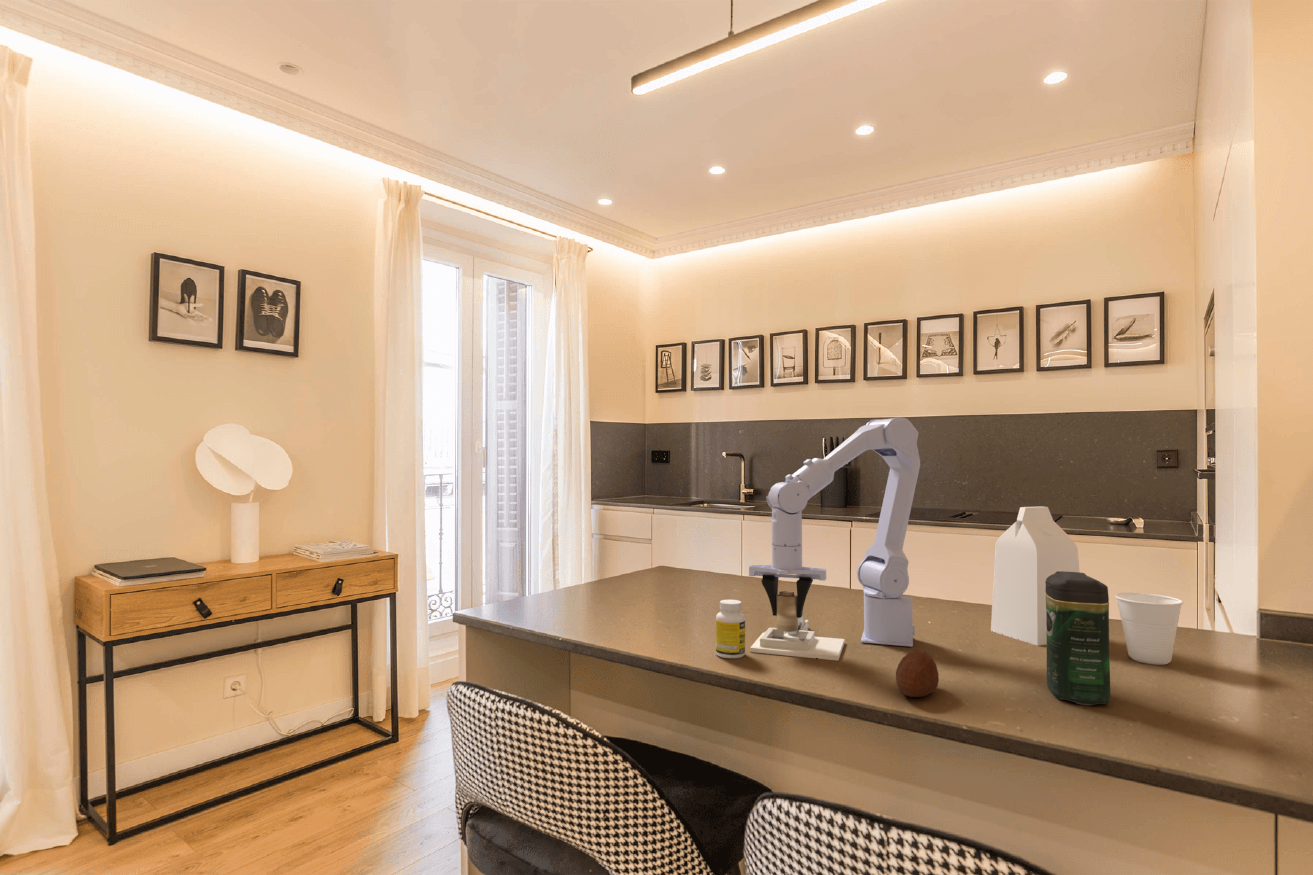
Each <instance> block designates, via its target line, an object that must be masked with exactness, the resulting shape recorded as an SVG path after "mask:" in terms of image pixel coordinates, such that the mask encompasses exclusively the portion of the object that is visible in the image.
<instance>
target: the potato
mask: <svg viewBox="0 0 1313 875" xmlns="http://www.w3.org/2000/svg"><path fill="white" fill-rule="evenodd" d="M895 670H896V671H895V677H896V678H895V679H896V686H897V688H898V690H899V691H900V692H901V694H903V695H905V696H907V697H909V698H921V697H926V696H928V695H929V694H932V692H935V691H936V690H937V688H938V686H939V681H940V680H939V677H940V676H939V670H938V667H937V663H936V662H935V661H934V659H933V656H931V654H929V653H928V652H926V651H925V650H920V649H916V650H915V649H914V650H911V651H909V652H907V654H905V655H904V656H903V657H902V658H901V660H900V661H899V663H898V664H897V668H896V669H895Z"/></svg>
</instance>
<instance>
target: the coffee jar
mask: <svg viewBox="0 0 1313 875" xmlns="http://www.w3.org/2000/svg"><path fill="white" fill-rule="evenodd" d="M1045 583H1046V589H1045V591H1046V626H1047V645H1046V685H1047V687H1048V689H1049V691H1050V692H1051V694H1053V696H1055V697H1056V698H1057V699H1059V700H1064V701H1065V700H1066V701H1069V702H1073V703H1075V704H1077V705H1083V706H1094V705H1107V704H1108V703H1110V701H1111V665H1110V663H1111V662H1110V659H1111V658H1110V599H1109V598H1110V596H1109V589H1108V588H1109V587H1108V586H1107V585H1106V584H1105V583H1103V582H1101V581H1099V580H1097V579H1095V578H1093V577H1091V576H1088V575H1087V574H1086V573H1084V572H1080V571H1079V572H1064V571H1057V572H1056V573H1054V574H1052V575H1050V576H1049V577H1047V579H1046V582H1045Z"/></svg>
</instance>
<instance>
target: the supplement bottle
mask: <svg viewBox="0 0 1313 875" xmlns="http://www.w3.org/2000/svg"><path fill="white" fill-rule="evenodd" d="M719 610H720V611H719V612H717V614H716V616H715V654H716V655H717V657H720V658H723V659H741V658H743V657H745V655H746V616H745V615H744V614H743V613H742V612H741V611H742V601H740V600H738V599H722V600H720V601H719Z"/></svg>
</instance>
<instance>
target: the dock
mask: <svg viewBox="0 0 1313 875" xmlns="http://www.w3.org/2000/svg"><path fill="white" fill-rule="evenodd" d="M815 633H816V631H815V630H809V619H805V620H803V625H802V626H801V628H800V630H799V633H798V634H797V635H790V634H788V632H786V631H779V630H777V627H768V628H767V630H766V631H763V632H762V633H761V634H760V636H759V637H758V638H756V640H755V641H754V642H753V644H752V645H751V646H750V650H749V651H750V653H757V654H768V655H775V656H776V655H777V656H787V657H789V656H790V657H797V658H806V659H807V658H808V659H809V658H810V659H816V658H818V660H827V661H838V662H839V660H840V657H841V654H842V652H843V648H844V647H845V639H844V638H835V637H823V636H816V634H815Z"/></svg>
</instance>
